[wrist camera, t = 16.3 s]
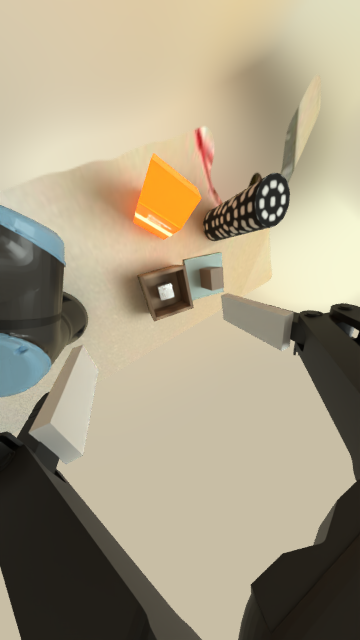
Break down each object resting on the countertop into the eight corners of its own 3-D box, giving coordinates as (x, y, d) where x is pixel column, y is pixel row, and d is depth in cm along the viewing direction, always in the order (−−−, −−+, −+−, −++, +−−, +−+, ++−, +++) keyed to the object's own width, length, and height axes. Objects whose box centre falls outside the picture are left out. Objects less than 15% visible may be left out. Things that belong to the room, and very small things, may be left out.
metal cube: (158, 297, 46) (161, 300, 43) (155, 285, 45) (157, 287, 41) (170, 294, 47) (174, 296, 44) (167, 281, 46) (171, 283, 42)
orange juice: (163, 240, 42) (192, 223, 25) (132, 222, 38) (140, 188, 21) (174, 211, 41) (212, 171, 23) (143, 190, 37) (160, 123, 19)
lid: (189, 299, 52) (199, 305, 44) (183, 259, 46) (194, 259, 39) (221, 291, 55) (236, 295, 47) (219, 252, 49) (235, 250, 42)
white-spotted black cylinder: (227, 238, 48) (287, 223, 31) (205, 243, 46) (255, 230, 29) (225, 207, 45) (291, 170, 27) (201, 211, 43) (254, 175, 25)
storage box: (149, 312, 48) (154, 321, 41) (137, 275, 43) (139, 277, 36) (183, 301, 51) (193, 307, 44) (175, 264, 46) (185, 265, 39)
